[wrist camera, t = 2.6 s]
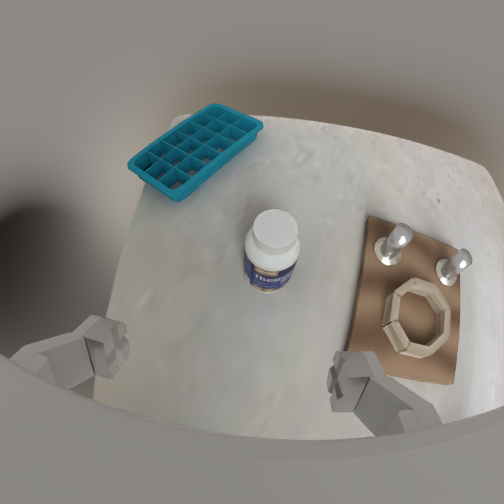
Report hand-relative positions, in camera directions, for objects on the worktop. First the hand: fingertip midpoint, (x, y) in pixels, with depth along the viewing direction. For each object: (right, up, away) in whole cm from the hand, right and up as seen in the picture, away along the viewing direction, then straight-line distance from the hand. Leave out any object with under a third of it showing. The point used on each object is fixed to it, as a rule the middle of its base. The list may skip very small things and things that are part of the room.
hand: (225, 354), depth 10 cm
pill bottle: (+3, +1, +23) cm, 23 cm away
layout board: (+21, -2, +21) cm, 30 cm away
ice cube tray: (-7, +19, +32) cm, 38 cm away
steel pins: (+23, +2, +23) cm, 32 cm away
